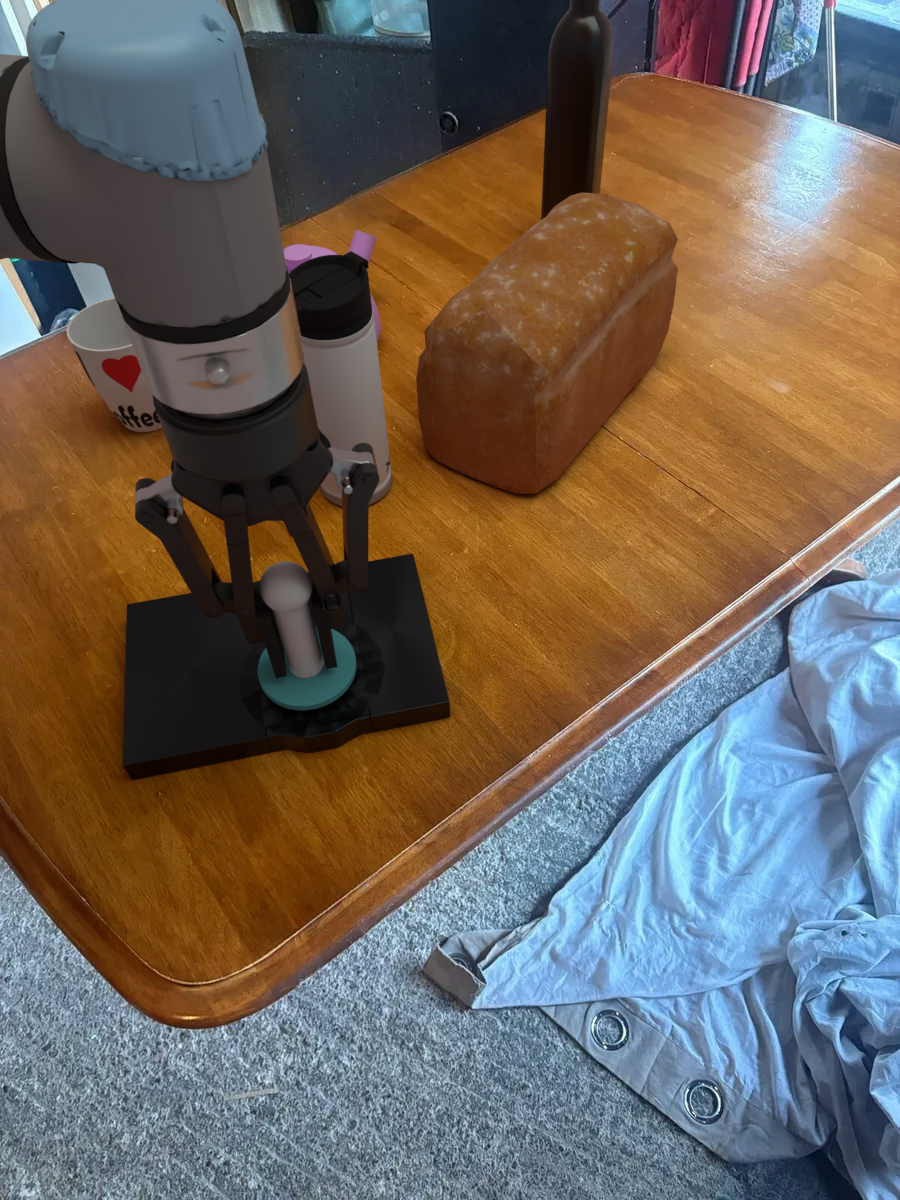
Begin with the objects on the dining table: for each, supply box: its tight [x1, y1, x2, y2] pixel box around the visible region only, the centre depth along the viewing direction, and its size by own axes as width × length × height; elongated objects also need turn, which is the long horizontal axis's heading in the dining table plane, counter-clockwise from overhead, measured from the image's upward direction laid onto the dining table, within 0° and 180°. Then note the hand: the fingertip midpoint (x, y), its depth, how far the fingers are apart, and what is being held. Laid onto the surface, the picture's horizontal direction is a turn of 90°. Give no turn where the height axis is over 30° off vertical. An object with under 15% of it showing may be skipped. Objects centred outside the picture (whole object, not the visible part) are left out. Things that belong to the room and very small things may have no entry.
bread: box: [415, 193, 679, 495], centre depth 78 cm, size 14×26×16 cm, turn 147°
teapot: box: [283, 229, 382, 344], centre depth 86 cm, size 14×20×11 cm
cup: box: [66, 297, 162, 433], centre depth 80 cm, size 8×8×10 cm
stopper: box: [258, 560, 356, 710], centre depth 59 cm, size 7×7×13 cm
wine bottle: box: [540, 0, 615, 220], centre depth 90 cm, size 6×6×30 cm
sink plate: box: [121, 553, 451, 781], centre depth 64 cm, size 22×15×2 cm, turn 102°
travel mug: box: [289, 251, 393, 507], centre depth 70 cm, size 6×7×20 cm
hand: (304, 656), depth 61 cm, fingers closed on stopper, 3 cm apart
